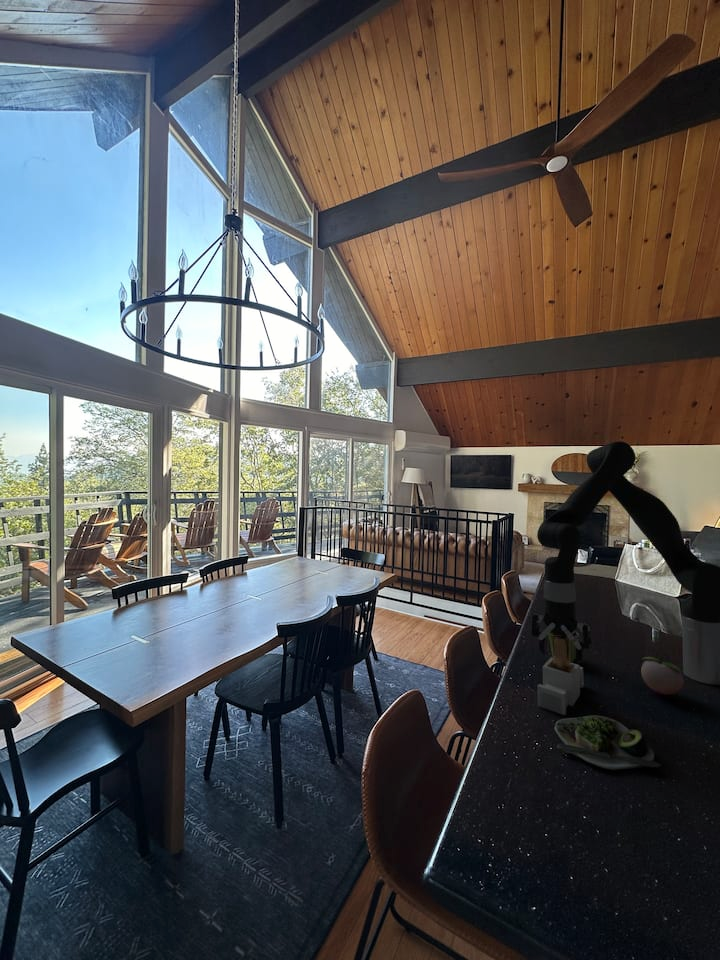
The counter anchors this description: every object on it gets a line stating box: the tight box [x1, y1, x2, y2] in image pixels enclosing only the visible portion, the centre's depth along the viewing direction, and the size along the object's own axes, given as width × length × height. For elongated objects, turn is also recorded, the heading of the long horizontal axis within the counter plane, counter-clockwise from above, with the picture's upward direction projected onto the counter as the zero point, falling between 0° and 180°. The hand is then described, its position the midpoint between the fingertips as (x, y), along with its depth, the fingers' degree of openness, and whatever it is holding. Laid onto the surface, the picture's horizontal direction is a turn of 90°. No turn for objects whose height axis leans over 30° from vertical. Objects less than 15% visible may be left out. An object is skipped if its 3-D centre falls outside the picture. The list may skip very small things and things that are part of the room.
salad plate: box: [553, 714, 662, 771], centre depth 87 cm, size 19×18×5 cm
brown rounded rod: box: [552, 634, 571, 673], centre depth 107 cm, size 4×4×12 cm
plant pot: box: [547, 631, 580, 663], centre depth 129 cm, size 9×9×9 cm
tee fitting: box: [536, 657, 584, 716], centre depth 107 cm, size 7×18×8 cm, turn 138°
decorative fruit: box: [640, 656, 685, 696], centre depth 107 cm, size 9×8×10 cm
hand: (560, 657), depth 107 cm, fingers open, 8 cm apart
